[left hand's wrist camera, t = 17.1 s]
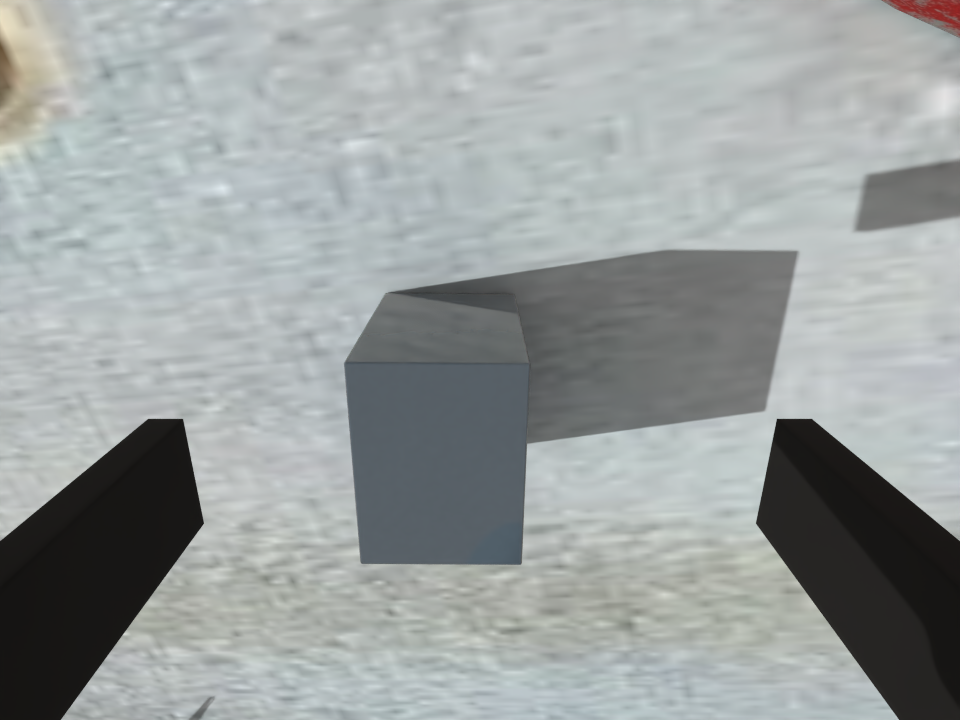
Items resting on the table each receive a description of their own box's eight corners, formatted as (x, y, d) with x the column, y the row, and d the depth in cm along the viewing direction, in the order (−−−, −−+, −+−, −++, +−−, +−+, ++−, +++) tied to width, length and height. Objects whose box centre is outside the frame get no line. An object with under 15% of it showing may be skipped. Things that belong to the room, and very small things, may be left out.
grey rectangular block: (393, 445, 33) (360, 564, 24) (385, 292, 29) (343, 362, 20) (510, 446, 33) (521, 565, 24) (514, 293, 29) (530, 363, 20)
